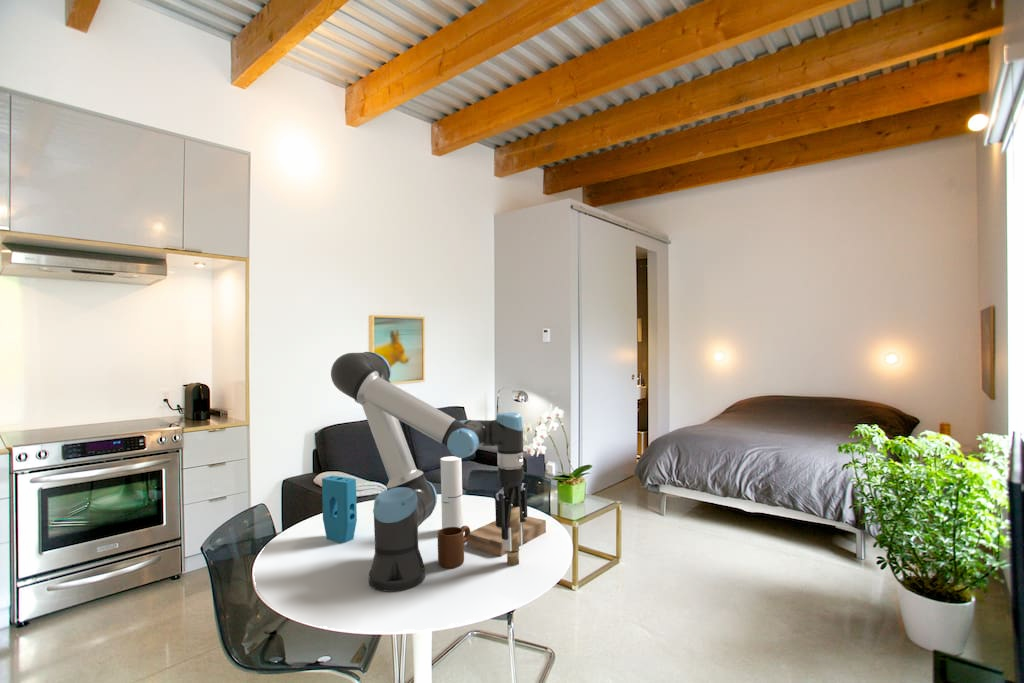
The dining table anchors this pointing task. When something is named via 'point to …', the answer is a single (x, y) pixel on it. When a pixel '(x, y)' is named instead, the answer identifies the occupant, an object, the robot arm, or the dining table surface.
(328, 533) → the block
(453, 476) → the cylindrical container
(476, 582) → the dining table surface
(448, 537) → the mug
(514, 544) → the oak peg
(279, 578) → the dining table surface
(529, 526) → the seat board
